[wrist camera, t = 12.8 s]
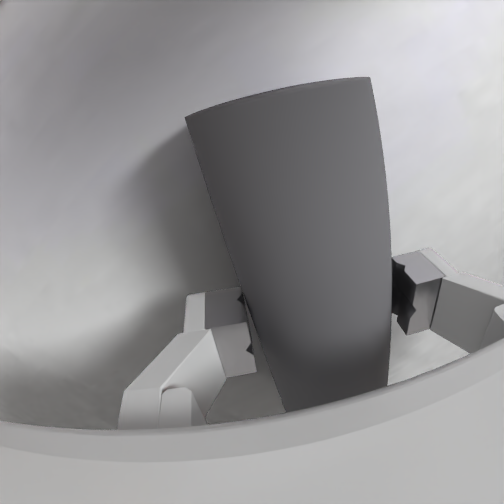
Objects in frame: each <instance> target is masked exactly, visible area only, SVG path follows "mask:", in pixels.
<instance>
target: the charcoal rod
mask: <svg viewBox="0 0 504 504" xmlns="http://www.w3.org/2000/svg"><path fill="white" fill-rule="evenodd" d="M185 119H186V123H187V126H188V129H189V132H190V135H191V138H192V141H193V145H194V148H195V151H196V154H197V157H198V160H199V163H200V166H201V169H202V172H203V175H204V179H205V182H206V185H207V188H208V191H209V194H210V197H211V200H212V203H213V206H214V209H215V212H216V215H217V218H218V221H219V224H220V227H221V230H222V233H223V236H224V239H225V242H226V245H227V247H228V250H229V253H230V256H231V259H232V262H233V265H234V268H235V271H236V274H237V277H238V280H239V282H240V285H241V288H242V291H243V294H244V297H245V300H246V303H247V305H248V308H249V311H250V314H251V317H252V320H253V322H254V325H255V328H256V331H257V334H258V337H259V339H260V342H261V345H262V348H263V351H264V353H265V356H266V359H267V362H268V364H269V367H270V370H271V373H272V375H273V378H274V381H275V384H276V386H277V389H278V392H279V395H280V397H281V400H282V403H283V405H284V408H285V411H286V413H287V412H292V411H296V410H301V409H306V408H310V407H314V406H319V405H323V404H327V403H331V402H335V401H338V400H342V399H346V398H350V397H353V396H357V395H360V394H364V393H367V392H370V391H373V390H377V389H380V388H383V387H386V386H387V382H388V371H389V357H390V340H391V314H392V263H391V236H390V219H389V205H388V193H387V183H386V174H385V165H384V157H383V149H382V142H381V135H380V129H379V122H378V116H377V111H376V105H375V100H374V95H373V89H372V85H371V80H370V77H354V78H343V79H334V80H326V81H319V82H313V83H307V84H301V85H296V86H290V87H285V88H280V89H276V90H271V91H267V92H263V93H259V94H255V95H251V96H247V97H243V98H239V99H236V100H232V101H229V102H225V103H222V104H219V105H216V106H213V107H210V108H207V109H204V110H201V111H198V112H196V113H193V114H191V115H189V116H186V117H185Z"/></svg>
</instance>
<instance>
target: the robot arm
mask: <svg viewBox="0 0 504 504" xmlns="http://www.w3.org/2000/svg"><path fill="white" fill-rule="evenodd" d="M391 263H392V313H394V314H396V315H398V317H397V322H398V324H399V325H400V327H401V328H402V330H403V331H404V332H405V334H406V335H410V334H414V333H417V332H420V331H424V330H427V329H430V328H431V329H430V330H431V331H433V332H435V333H436V334H438V335H440V336H442V337H443V338H445V339H447V340H448V341H450V342H452V343H453V344H455V345H457V346H459V347H460V348H462V349H464V350H465V351H467V352H469V353H470V354H469V355H467V356H465V357H462V358H460V359H458V360H455V361H453V362H451V363H448V364H446V365H443V366H441V367H439V368H436V369H433V370H431V371H428V372H426V373H423V374H420V375H418V376H415V377H412V378H410V379H407V380H404V381H401V382H398V383H395V384H392V385H389V386H386V387H383V388H380V389H377V390H373V391H370V392H367V393H364V394H360V395H357V396H353V397H350V398H346V399H342V400H338V401H335V402H331V403H327V404H323V405H319V406H314V407H310V408H306V409H301V410H296V411H292V412H287V413H282V414H277V415H271V416H266V417H260V418H254V419H247V420H241V421H234V422H226V423H219V424H210V425H208V424H207V422H206V420H205V416H206V414H207V413H208V411H209V409H210V407H211V406H212V404H213V402H214V400H215V399H216V397H217V395H218V393H219V392H220V390H221V388H222V386H223V385H224V383H225V381H226V378H228V377H234V376H239V375H244V374H249V373H255V372H257V369H256V363H255V357H254V351H253V346H252V339H251V333H250V327H249V322H248V317H247V311H246V308H245V302H244V297H243V292H242V288H241V286H240V287H233V288H227V289H220V290H214V291H207V292H201V293H195V294H189V295H188V296H187V297H186V307H185V318H184V329H183V333H179V334H177V335H176V336H175V337H174V339H173V340H172V341H171V342H170V343H169V344H168V345H167V346H166V347H165V348H164V349H163V350H162V351H161V352H160V353H159V354H158V356H157V357H156V358H155V359H154V360H153V361H152V362H151V363H150V364H149V365H148V366H147V367H146V368H145V369H144V370H143V371H142V372H141V374H140V375H139V376H138V377H137V378H136V379H135V380H134V381H133V382H132V383H131V384H130V385H129V386H128V387H127V388H126V389H125V390H124V393H123V398H122V404H121V409H120V414H119V420H118V425H117V430H96V429H72V428H58V427H46V426H36V425H28V424H20V423H13V422H6V421H0V504H504V286H503V285H500V284H497V283H494V282H491V281H489V280H486V279H483V278H480V277H477V276H474V275H471V274H468V273H465V272H461V273H459V272H458V271H457V270H456V269H455V268H454V267H452V266H451V265H450V264H449V263H448V262H447V261H446V260H445V259H444V258H442V257H441V256H440V255H439V254H438V253H437V252H436V251H435V250H433V249H432V248H425V249H421V250H417V251H415V252H411V253H407V254H402V255H398V256H394V257H391Z"/></svg>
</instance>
